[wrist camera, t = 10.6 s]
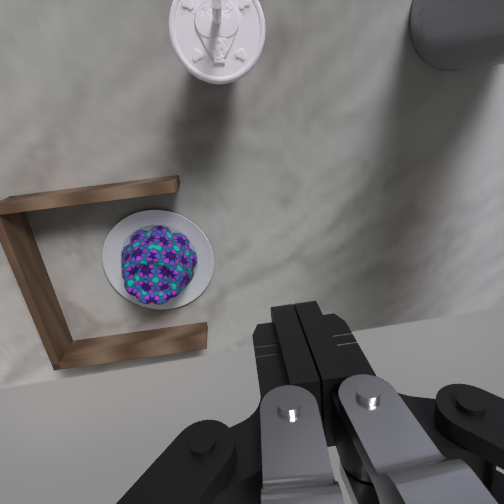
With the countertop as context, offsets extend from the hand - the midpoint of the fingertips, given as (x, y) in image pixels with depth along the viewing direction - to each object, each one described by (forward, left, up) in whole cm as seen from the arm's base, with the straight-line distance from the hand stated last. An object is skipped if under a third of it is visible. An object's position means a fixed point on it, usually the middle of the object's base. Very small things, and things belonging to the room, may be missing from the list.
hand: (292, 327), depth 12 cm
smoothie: (-3, -11, -27) cm, 30 cm away
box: (+17, +3, -27) cm, 32 cm away
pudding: (+13, +4, -28) cm, 31 cm away
